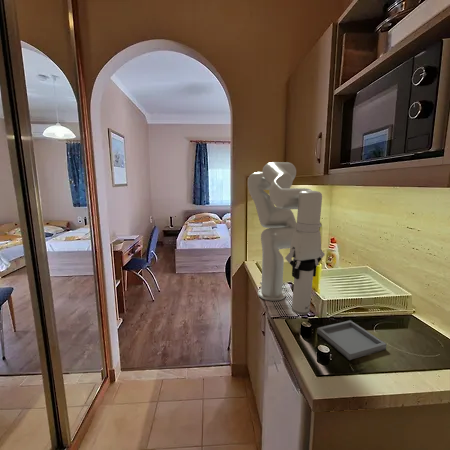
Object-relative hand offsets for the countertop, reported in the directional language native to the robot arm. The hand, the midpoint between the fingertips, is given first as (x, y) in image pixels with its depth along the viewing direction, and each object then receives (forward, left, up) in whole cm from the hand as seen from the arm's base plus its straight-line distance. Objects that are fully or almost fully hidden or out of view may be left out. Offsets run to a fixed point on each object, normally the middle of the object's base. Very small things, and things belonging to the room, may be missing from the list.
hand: (303, 276), depth 97 cm
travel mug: (0, 0, -14) cm, 14 cm away
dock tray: (+13, +10, -20) cm, 26 cm away
